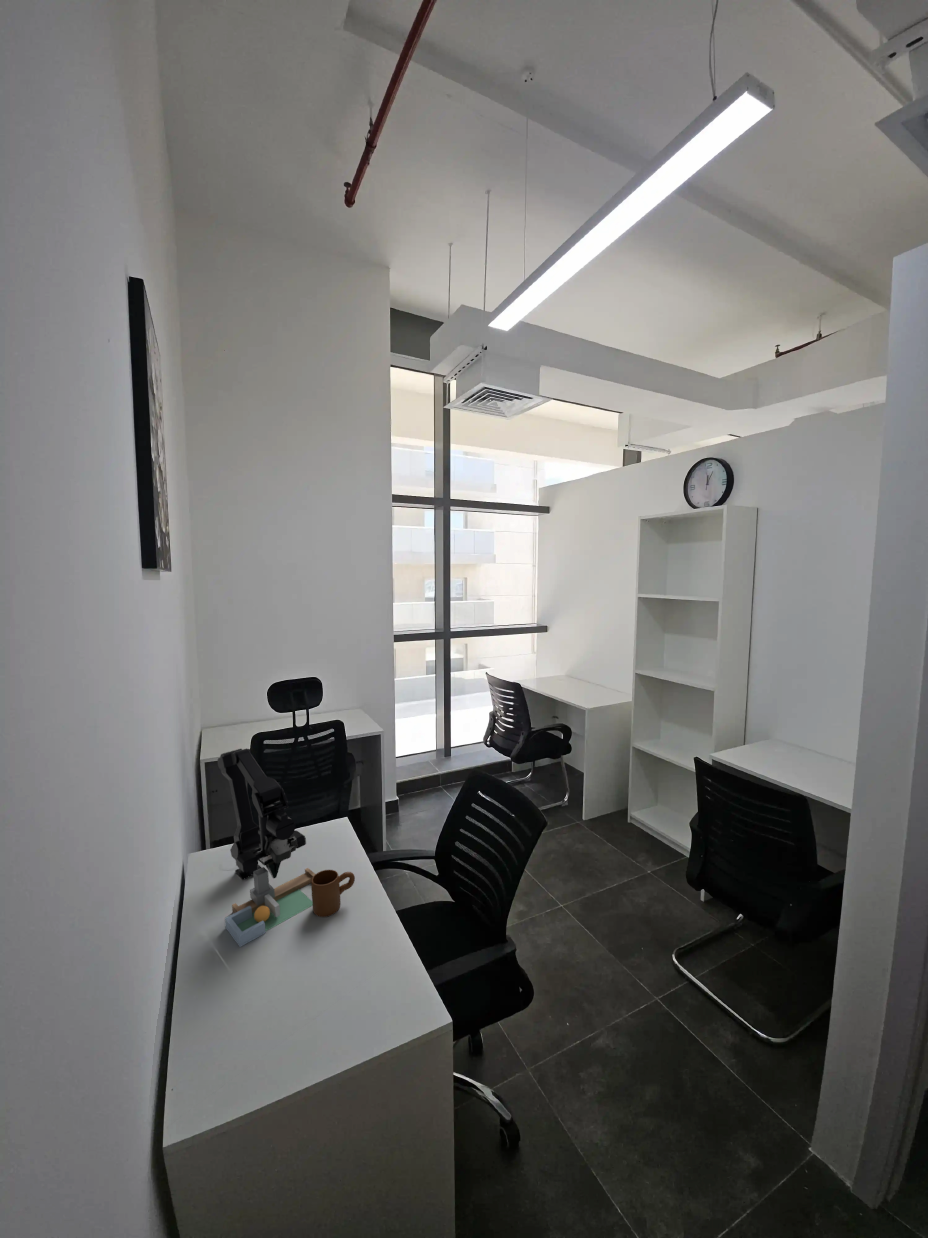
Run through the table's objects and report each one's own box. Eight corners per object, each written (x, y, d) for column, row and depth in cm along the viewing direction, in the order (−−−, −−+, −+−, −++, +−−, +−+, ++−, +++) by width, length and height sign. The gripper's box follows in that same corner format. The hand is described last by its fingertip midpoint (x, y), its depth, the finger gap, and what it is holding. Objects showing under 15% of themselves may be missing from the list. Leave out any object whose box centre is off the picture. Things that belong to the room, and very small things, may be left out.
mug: (354, 892, 143) (352, 862, 142) (358, 908, 136) (356, 877, 135) (311, 904, 139) (309, 873, 138) (314, 921, 132) (312, 889, 131)
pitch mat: (225, 927, 131) (225, 926, 131) (298, 889, 146) (298, 889, 146) (239, 946, 124) (239, 945, 124) (315, 904, 139) (315, 904, 139)
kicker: (250, 900, 140) (248, 872, 139) (267, 892, 143) (265, 864, 143) (269, 921, 131) (266, 890, 130) (286, 911, 135) (284, 881, 134)
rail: (232, 913, 136) (231, 905, 136) (308, 875, 153) (307, 867, 152) (239, 921, 133) (238, 913, 133) (316, 881, 149) (315, 874, 149)
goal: (225, 928, 130) (224, 918, 130) (250, 915, 135) (249, 905, 135) (240, 947, 123) (239, 936, 123) (265, 933, 128) (264, 922, 128)
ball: (259, 900, 134) (269, 907, 136) (248, 915, 132) (258, 921, 134) (265, 907, 131) (275, 913, 133) (254, 921, 129) (264, 928, 131)
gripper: (249, 851, 128) (254, 906, 130) (313, 823, 142) (317, 873, 143) (233, 837, 136) (237, 889, 138) (295, 811, 150) (298, 859, 151)
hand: (274, 877), depth 142 cm, fingers closed
